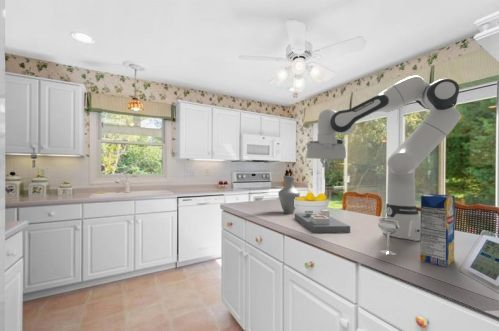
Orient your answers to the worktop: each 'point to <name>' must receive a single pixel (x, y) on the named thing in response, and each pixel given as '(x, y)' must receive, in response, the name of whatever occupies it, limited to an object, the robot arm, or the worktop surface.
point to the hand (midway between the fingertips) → (325, 167)
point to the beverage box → (437, 229)
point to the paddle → (325, 213)
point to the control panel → (321, 223)
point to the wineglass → (388, 230)
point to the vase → (288, 195)
